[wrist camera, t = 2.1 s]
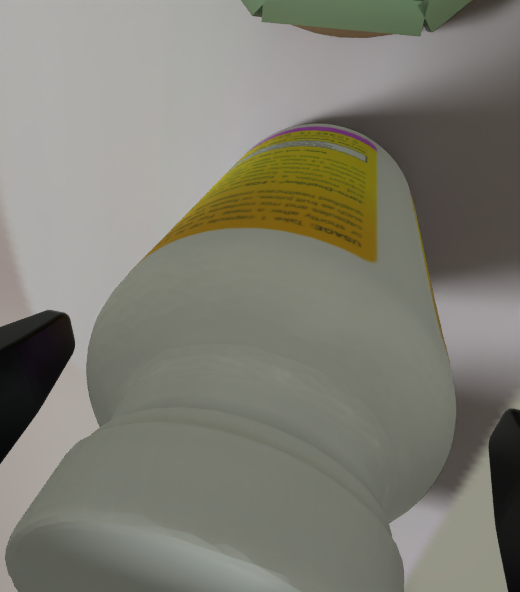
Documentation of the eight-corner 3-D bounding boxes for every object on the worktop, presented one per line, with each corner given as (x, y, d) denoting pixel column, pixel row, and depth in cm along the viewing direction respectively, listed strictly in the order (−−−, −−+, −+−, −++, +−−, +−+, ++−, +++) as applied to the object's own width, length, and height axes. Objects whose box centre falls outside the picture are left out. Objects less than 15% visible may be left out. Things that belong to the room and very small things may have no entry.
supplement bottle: (194, 197, 16) (-161, 527, 5) (339, 71, 13) (160, 290, 2) (300, 320, 18) (192, 743, 7) (450, 239, 15) (648, 795, 4)
